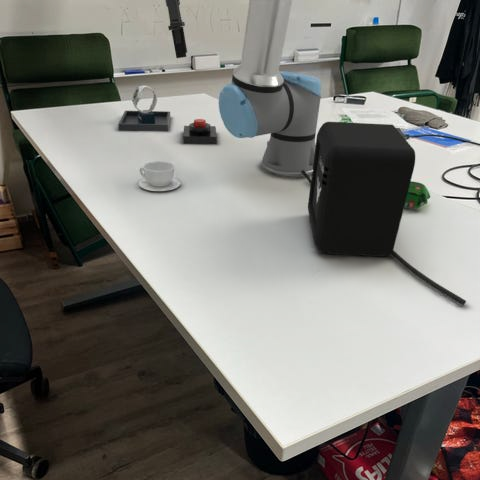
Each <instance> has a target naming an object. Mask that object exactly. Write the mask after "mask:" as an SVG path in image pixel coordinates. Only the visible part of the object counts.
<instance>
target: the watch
mask: <svg viewBox="0 0 480 480" xmlns="http://www.w3.org/2000/svg"><path fill="white" fill-rule="evenodd" d="M144 89H149V90H151V91H152V93H153V98H152V102H151V103H150V106H149V108H148V109H143V110H142V109H139V108H138V104H139V102H140V101H141V98H142V96H143V91H144ZM131 101H132V104H133V106H134V108H135V109H136V111H137V112H138V121H139V122H140V123H141V124H155V114H154V113H153V112H152V111H155V110H154V109H155V108H156V106H157V103H158V95H157V93H156V91H155V90H154V89H153V88H152V87H150V86H148V85H140V86H137V87H136V88H135V89H134V91H133V93H132V97H131Z"/></svg>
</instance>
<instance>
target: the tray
mask: <svg viewBox="0 0 480 480" xmlns="http://www.w3.org/2000/svg"><path fill="white" fill-rule="evenodd" d="M137 111H138V110H124V112H123V113H122V116H121V117H120V120H119V121H118V125H117V126H118V131H123V132H124V131H127V132H128V131H129V132H169V128H170V122H171V111H167V110H166V111H164V110H159V111H158V110H152V112H153V113H154V114H155V124H141V123H140V122H139V121H138V112H137Z"/></svg>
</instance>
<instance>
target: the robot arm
mask: <svg viewBox="0 0 480 480" xmlns="http://www.w3.org/2000/svg"><path fill="white" fill-rule="evenodd" d="M164 1H165V5H166V7H167V11H168V18H169V25H168V26H167V27H168V31H171V35H172V41H173V46H174V52H175V57H176V58H175V59H182V58H187V53H188V48H187V43H186V37H185V30H184V27H185V26H186V24H185V23H186V22H185V21H183V19H182V14H181V9H180V5H181V2H180V0H164ZM292 4H293V0H249V2H248V9H247V16H246V17H247V18H246V23H245V31H244V39H243V45H242V52H241V59H240V60H241V61H240V64H239V65H237V66H236V67H235V68H234V69H233V71H232V77H231V82H230V83H229V84H226V85H225V86H223V87H222V89H221V90H220V92H219V96H218V110H219V115H220V118H221V120H222V124H223V125H224V127H225V129H226V130H227V131H228V133H229V134H230V135H232V136H233V137H235V138H237V139H245V138H249V139H253V138H255V137H258V136H259V137H260V136H264V135H270V136H269V140H267V141H266V147H265V150H264V153H263V156H262V157H261V158H262V159H261V170H263V171H264V172H266V173H268V174H269V175H272V176H275V177H281V178H291V179H300V178H305V179H306V180H307V182H308V183H309V184H310V185H311V183H312V181H311V177H312V172H313V162H314V154H315V147H316V136H317V126H318V120H319V112H320V106H321V105H320V104H321V99H322V82H321V80H320V78H318V77H316V76H312V75H308V74H304V73H299V72H290V71H284V70H283V71H282V70H280V67H281V61H282V56H283V49H284V45H285V41H286V35H287V29H288V24H289V19H290V14H291V10H292V9H291V8H292ZM390 256H392V257H393V258H394V259H396V260H397V261H398V262H399V263H400V264H401V265H403V267H405V268H406V269H407V270H408V271H410V272H411V273H412V274H414V275H415V276H416V277H418V278H419V279H421V280H422V281H423V282H424V283H426V284H427V285H429V286H431V287H432V288H433V289H435V290H437V291H439V292H440V293H442V294H443V295H445V296H446V297H449V298H450V299H451V300H453V301H455V302H457V303H458V304H460V305H462V306H464V305H465V304H466V303H467V301H466V299H464V298H462V297H460V295H458V294H455V292H452V291H451V290H449V289H447V288H445V287H444V286H442V285H440V284H439V283H437V282H436V281H434V280H433V279H431V278H429V277H428V276H426V275H425V274H424V273H423V272H421V271H420V270H418V269H416V268H415V267H414V266H412V265H411V264H410V263H409V262H408V261H406V260H405V259H404V258H403V257H402V256H401V255H400V254H398V253H397V252H396V251H395V250H394V249H393V252H392V254H391V255H390Z"/></svg>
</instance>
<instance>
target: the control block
mask: <svg viewBox="0 0 480 480" xmlns="http://www.w3.org/2000/svg"><path fill="white" fill-rule="evenodd" d="M182 138H183V139H182V142H183V144H184V145H217V144H218V135H217V127H216V125H211V124H210V123H208V122H206V126H205V127H196V126H194V122H191V123H189V124H188V125H183V136H182Z"/></svg>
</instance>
